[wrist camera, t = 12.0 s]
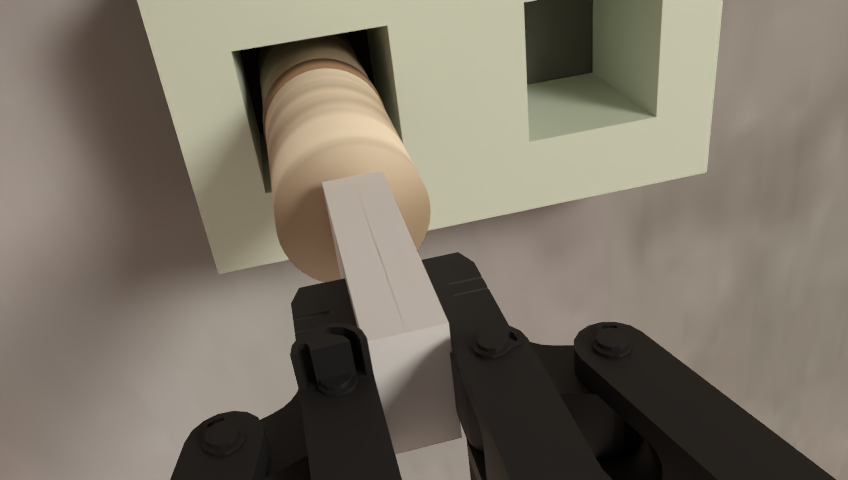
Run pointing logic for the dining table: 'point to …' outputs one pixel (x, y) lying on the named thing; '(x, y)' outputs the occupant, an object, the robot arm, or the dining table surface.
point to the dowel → (328, 145)
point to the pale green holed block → (445, 103)
